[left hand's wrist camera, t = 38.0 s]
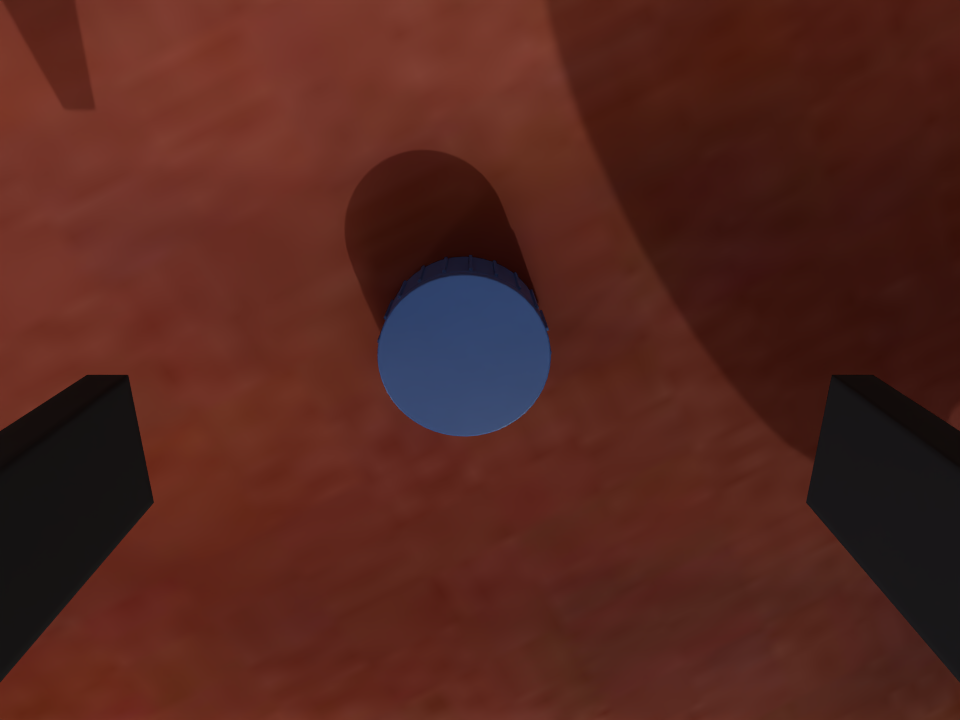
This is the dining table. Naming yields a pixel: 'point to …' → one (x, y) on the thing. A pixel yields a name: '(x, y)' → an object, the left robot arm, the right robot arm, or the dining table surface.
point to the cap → (464, 347)
